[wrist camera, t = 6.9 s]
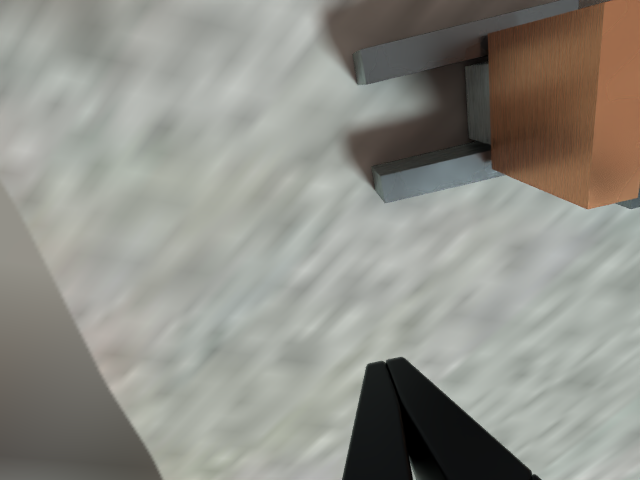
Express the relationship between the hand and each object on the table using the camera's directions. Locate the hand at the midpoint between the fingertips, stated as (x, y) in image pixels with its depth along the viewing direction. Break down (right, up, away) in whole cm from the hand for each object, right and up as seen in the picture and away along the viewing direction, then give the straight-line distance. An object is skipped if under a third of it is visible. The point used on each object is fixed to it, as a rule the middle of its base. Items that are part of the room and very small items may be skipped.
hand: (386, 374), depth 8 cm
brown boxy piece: (+10, +10, +8) cm, 16 cm away
